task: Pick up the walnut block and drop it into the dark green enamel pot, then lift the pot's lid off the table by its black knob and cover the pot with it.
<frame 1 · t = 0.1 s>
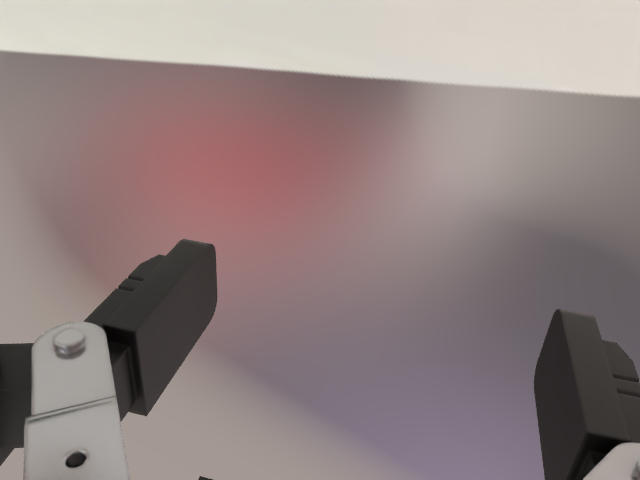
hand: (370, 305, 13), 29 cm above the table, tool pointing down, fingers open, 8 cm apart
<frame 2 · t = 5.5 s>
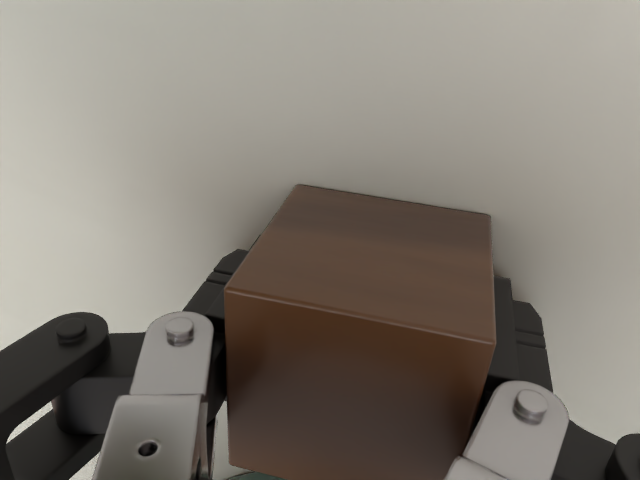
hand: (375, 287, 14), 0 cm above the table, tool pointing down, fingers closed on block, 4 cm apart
block: (379, 279, 14), on the table, touching gripper
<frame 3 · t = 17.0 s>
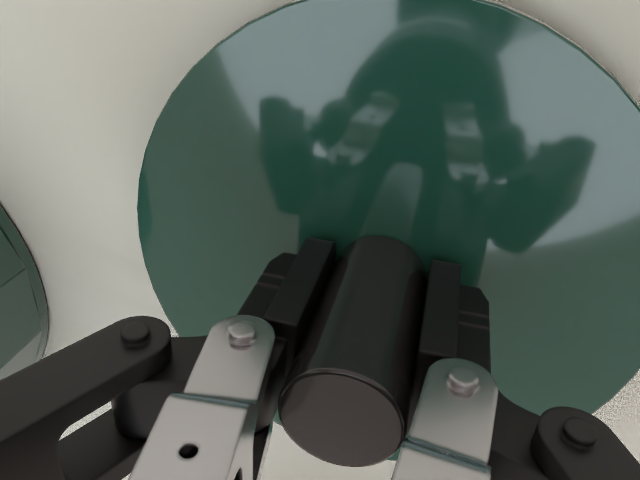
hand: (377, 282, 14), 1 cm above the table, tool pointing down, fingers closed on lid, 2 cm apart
lid: (383, 265, 15), point 1 cm above the table, touching gripper
when the fingers open (10 cm above the table, at t = 23.4 s): lid stays where it is, resting on pot.
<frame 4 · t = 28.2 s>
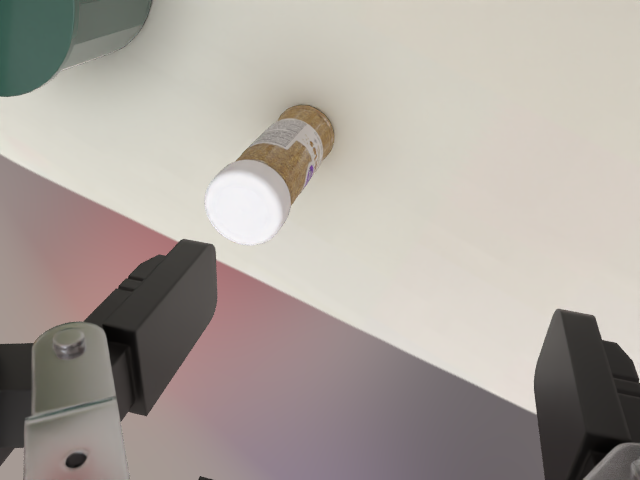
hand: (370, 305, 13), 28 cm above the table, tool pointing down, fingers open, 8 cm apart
sprinkles bottle: (306, 132, 42), on the table
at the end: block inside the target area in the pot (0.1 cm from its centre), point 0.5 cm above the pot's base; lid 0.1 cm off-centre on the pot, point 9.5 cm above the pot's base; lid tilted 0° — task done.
